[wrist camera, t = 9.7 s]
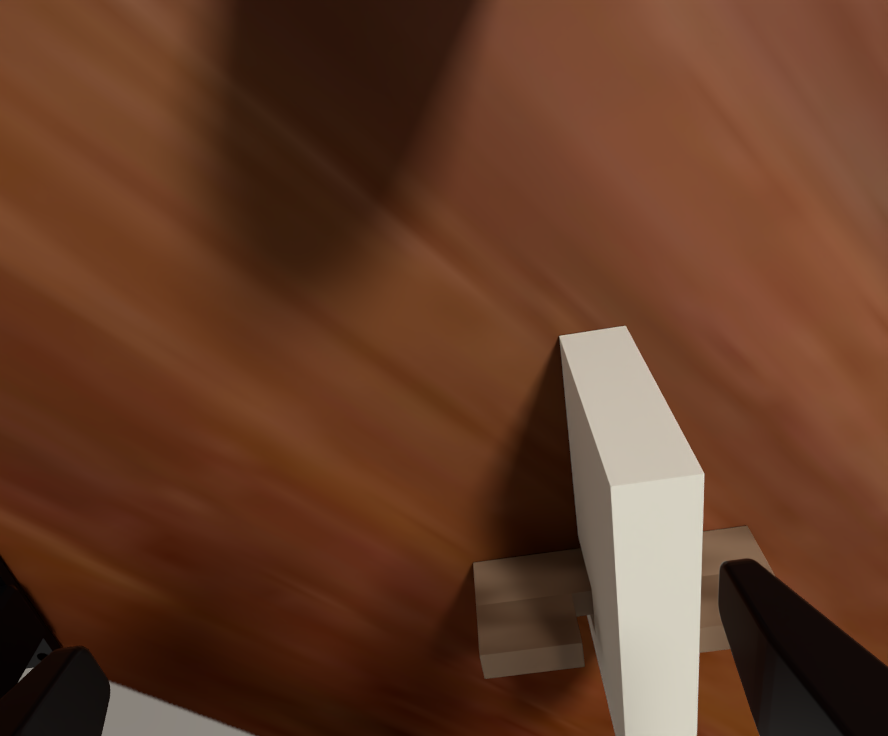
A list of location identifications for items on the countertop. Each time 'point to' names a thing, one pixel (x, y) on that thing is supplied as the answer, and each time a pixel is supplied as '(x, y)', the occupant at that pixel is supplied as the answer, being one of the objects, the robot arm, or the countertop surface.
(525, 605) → the brown wooden flat piece
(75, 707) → the robot arm
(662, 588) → the cream plate
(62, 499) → the countertop surface
